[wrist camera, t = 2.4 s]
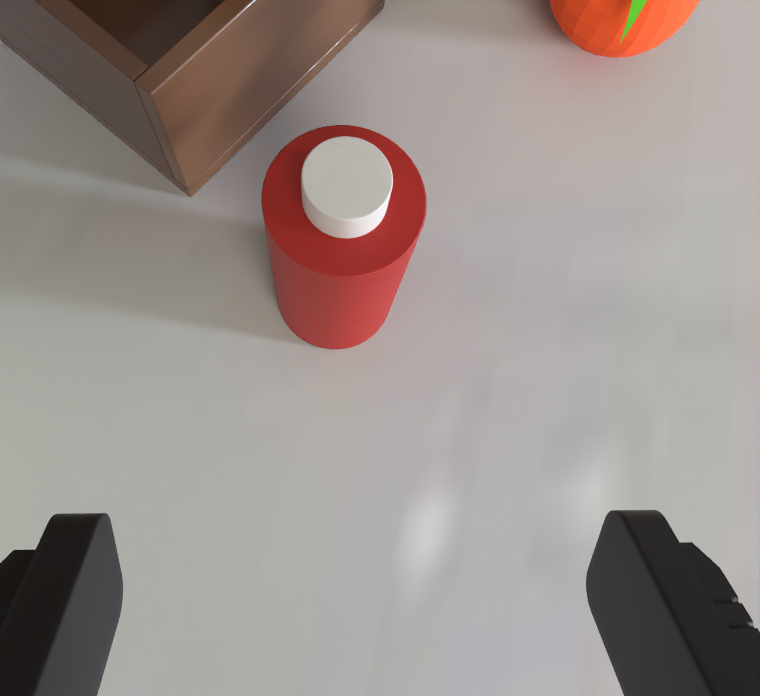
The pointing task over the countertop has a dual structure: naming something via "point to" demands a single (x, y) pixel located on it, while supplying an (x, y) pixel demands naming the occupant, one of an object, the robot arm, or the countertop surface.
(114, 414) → the countertop surface
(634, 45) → the clementine
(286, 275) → the sauce bottle
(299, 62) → the chest
